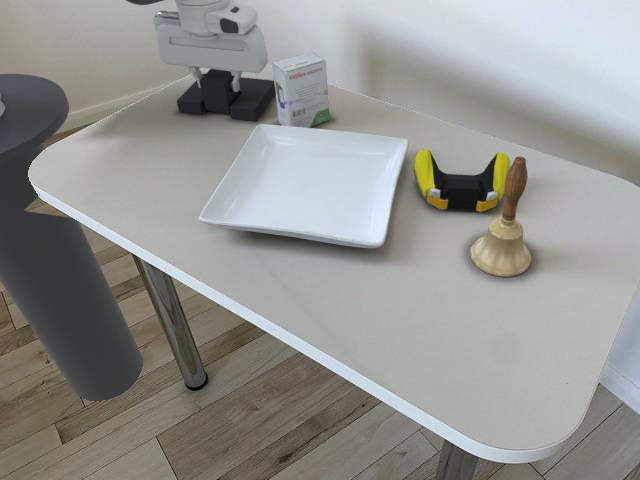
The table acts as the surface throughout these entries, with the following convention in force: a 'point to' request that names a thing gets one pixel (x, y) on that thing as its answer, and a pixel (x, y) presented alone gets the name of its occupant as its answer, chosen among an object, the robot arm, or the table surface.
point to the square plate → (311, 185)
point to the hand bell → (505, 232)
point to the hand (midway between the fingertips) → (219, 88)
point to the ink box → (301, 90)
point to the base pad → (244, 107)
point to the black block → (217, 90)
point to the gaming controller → (461, 184)
